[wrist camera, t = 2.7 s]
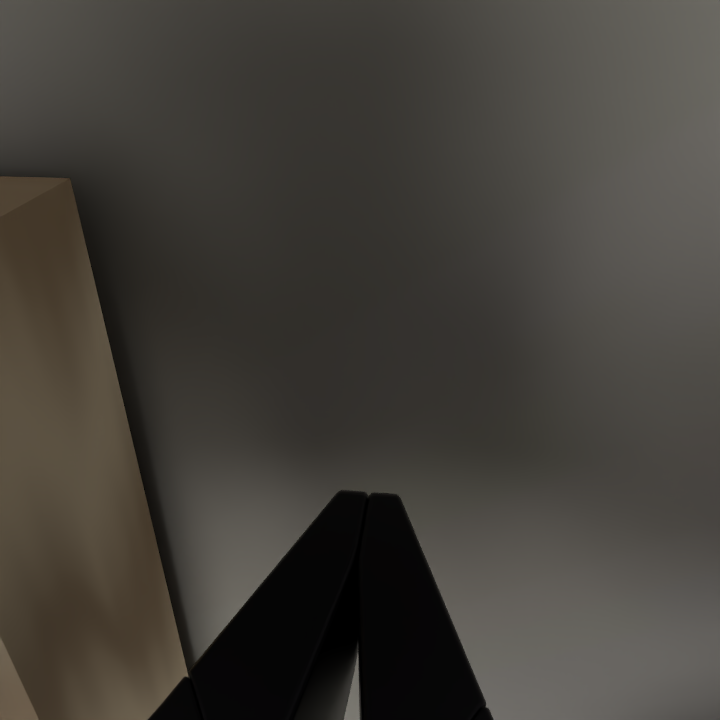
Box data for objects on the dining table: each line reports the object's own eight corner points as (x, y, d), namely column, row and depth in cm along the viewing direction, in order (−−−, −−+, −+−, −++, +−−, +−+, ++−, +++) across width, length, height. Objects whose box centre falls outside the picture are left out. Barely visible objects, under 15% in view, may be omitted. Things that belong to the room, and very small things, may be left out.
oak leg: (212, 765, 17) (155, 961, 14) (98, 751, 17) (14, 940, 14) (76, 178, 9) (-144, 303, 6) (-133, 172, 9) (-460, 287, 6)
